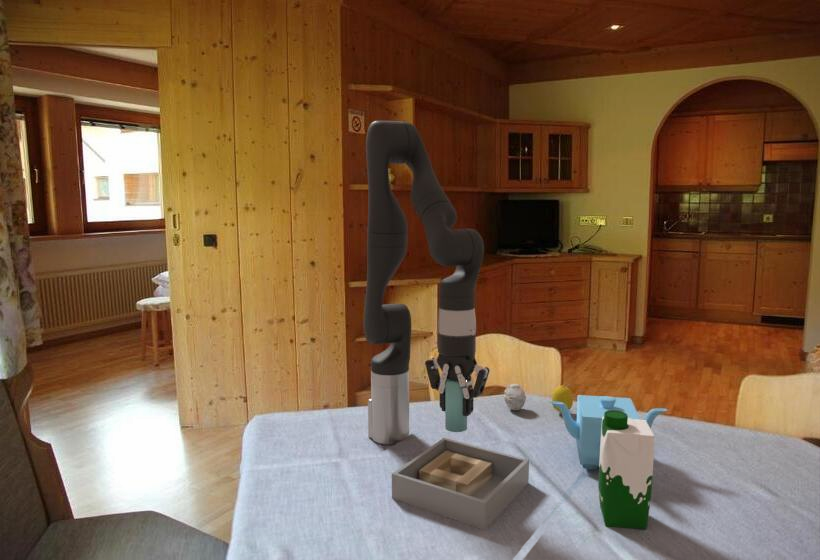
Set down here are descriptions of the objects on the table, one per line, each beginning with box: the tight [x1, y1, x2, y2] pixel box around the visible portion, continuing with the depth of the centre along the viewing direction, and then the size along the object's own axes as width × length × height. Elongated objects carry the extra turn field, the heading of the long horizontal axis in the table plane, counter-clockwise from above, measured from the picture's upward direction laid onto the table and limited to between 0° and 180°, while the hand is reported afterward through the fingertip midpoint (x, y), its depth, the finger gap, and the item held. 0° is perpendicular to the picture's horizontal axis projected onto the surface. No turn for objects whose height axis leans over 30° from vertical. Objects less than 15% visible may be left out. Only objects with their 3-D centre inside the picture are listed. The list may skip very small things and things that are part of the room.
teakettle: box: [549, 394, 669, 470], centre depth 132 cm, size 19×19×15 cm
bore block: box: [419, 451, 492, 496], centre depth 123 cm, size 11×11×3 cm
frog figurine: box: [503, 383, 527, 411], centre depth 164 cm, size 6×7×7 cm
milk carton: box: [597, 410, 655, 530], centre depth 109 cm, size 9×9×20 cm
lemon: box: [551, 384, 574, 415], centre depth 161 cm, size 6×6×8 cm
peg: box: [444, 379, 468, 433], centre depth 121 cm, size 4×4×10 cm
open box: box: [391, 437, 530, 531], centre depth 119 cm, size 20×20×6 cm
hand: (456, 412), depth 121 cm, fingers closed on peg, 4 cm apart
